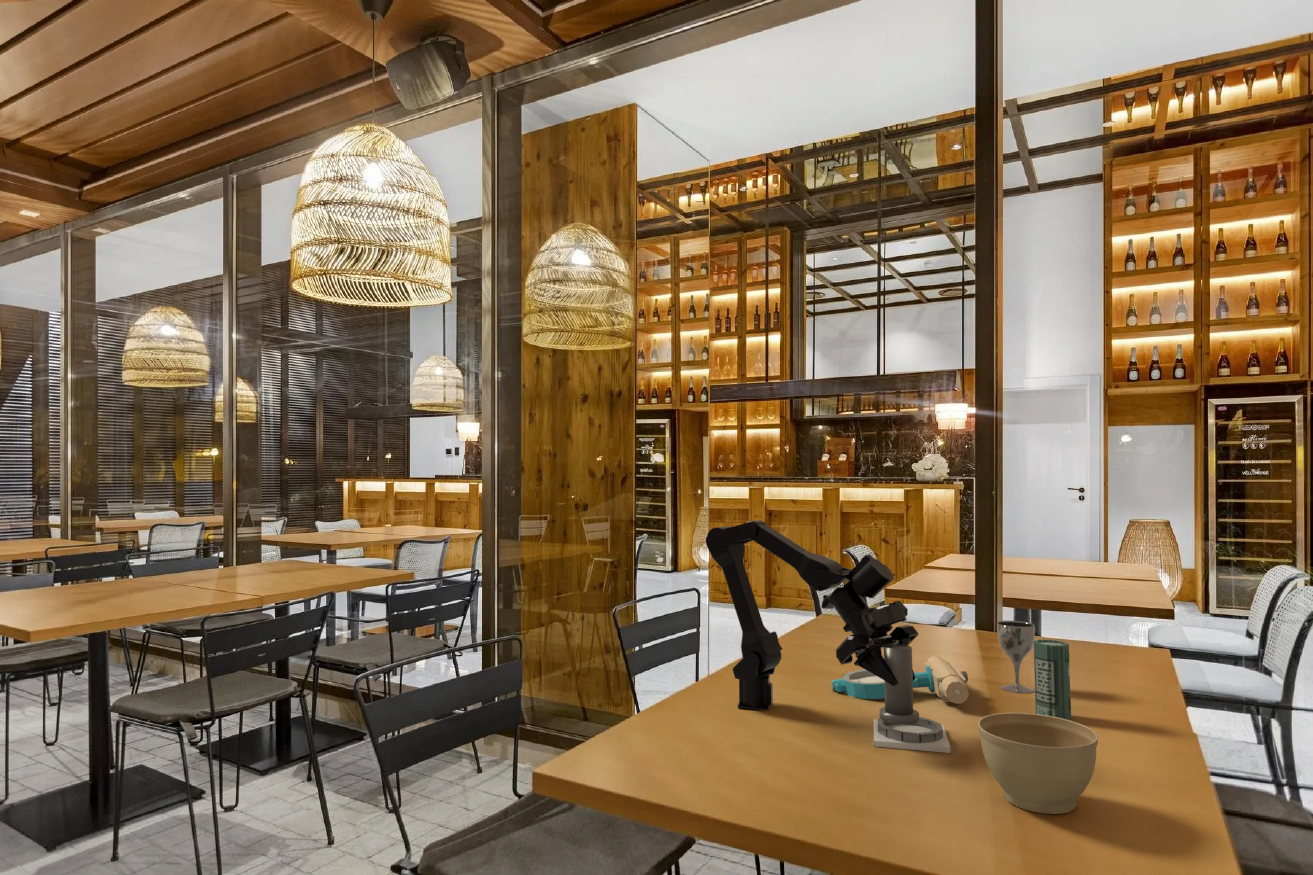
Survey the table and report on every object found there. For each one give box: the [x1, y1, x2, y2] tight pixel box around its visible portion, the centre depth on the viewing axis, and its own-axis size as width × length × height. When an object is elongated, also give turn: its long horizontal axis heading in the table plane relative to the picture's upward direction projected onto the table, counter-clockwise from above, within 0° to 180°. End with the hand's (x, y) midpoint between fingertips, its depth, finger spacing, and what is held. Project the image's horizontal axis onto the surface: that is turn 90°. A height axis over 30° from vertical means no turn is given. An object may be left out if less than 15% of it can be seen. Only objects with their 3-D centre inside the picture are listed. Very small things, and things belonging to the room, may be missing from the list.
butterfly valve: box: [830, 655, 970, 705], centre depth 172 cm, size 27×7×30 cm
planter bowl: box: [977, 712, 1099, 815], centre depth 114 cm, size 16×16×11 cm
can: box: [1033, 639, 1072, 721], centre depth 155 cm, size 6×6×15 cm
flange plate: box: [872, 716, 951, 754], centre depth 142 cm, size 13×13×2 cm
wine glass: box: [996, 620, 1036, 694], centre depth 176 cm, size 8×8×15 cm
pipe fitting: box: [879, 644, 920, 724], centre depth 141 cm, size 7×7×13 cm
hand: (904, 682), depth 140 cm, fingers closed on pipe fitting, 5 cm apart
